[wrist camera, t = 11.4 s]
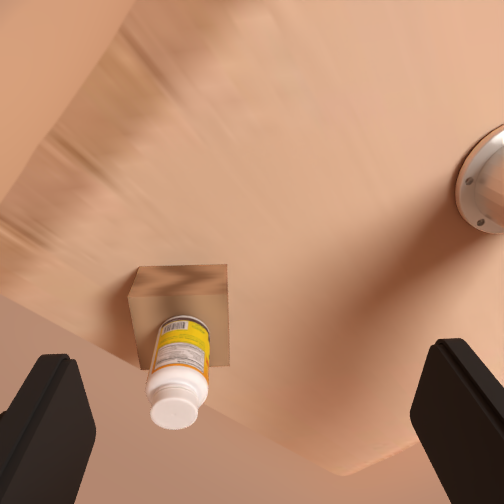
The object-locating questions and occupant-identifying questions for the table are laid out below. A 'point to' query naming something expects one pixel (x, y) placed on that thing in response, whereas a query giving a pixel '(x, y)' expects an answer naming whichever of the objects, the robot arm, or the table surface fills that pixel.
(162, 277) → the walnut block
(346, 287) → the table surface
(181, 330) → the supplement bottle
